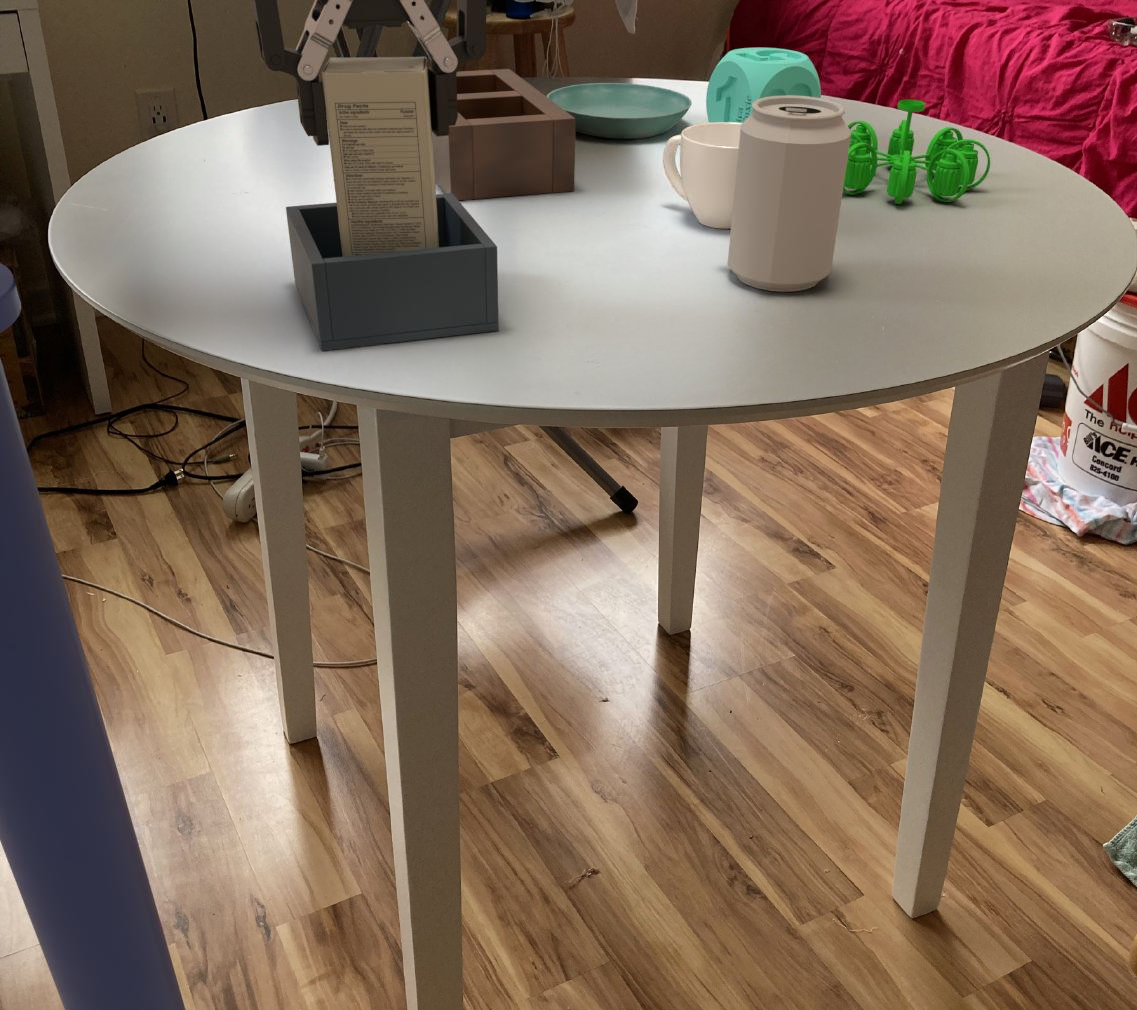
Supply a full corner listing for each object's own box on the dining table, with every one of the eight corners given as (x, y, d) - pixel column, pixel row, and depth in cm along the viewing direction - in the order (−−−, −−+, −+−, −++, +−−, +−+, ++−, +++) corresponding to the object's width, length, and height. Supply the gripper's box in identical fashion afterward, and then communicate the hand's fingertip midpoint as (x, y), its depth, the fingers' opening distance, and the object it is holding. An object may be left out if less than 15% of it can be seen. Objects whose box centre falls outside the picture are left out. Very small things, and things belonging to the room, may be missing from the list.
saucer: (581, 150, 113) (582, 121, 111) (524, 115, 124) (524, 88, 122) (716, 137, 118) (718, 109, 116) (649, 104, 129) (650, 77, 127)
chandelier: (896, 153, 114) (909, 76, 110) (1020, 194, 104) (1040, 111, 100) (778, 175, 107) (787, 94, 103) (898, 221, 97) (914, 133, 93)
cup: (736, 242, 92) (745, 153, 88) (634, 215, 97) (638, 129, 93) (788, 219, 97) (798, 133, 93) (688, 194, 102) (694, 112, 98)
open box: (321, 351, 74) (311, 264, 71) (295, 286, 83) (285, 206, 80) (498, 330, 77) (497, 246, 74) (455, 270, 86) (452, 192, 83)
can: (835, 266, 88) (861, 95, 81) (821, 301, 82) (848, 120, 75) (736, 254, 90) (753, 86, 83) (716, 288, 84) (732, 110, 77)
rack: (451, 201, 100) (448, 126, 96) (401, 140, 115) (397, 74, 111) (574, 191, 102) (575, 118, 99) (510, 133, 118) (509, 68, 114)
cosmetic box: (440, 249, 80) (432, 54, 73) (438, 272, 77) (430, 70, 70) (344, 248, 80) (328, 53, 73) (338, 271, 76) (320, 68, 69)
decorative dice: (701, 138, 117) (708, 51, 113) (766, 129, 121) (776, 44, 116) (748, 158, 112) (758, 67, 107) (815, 148, 115) (827, 60, 110)
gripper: (467, -183, 69) (476, 116, 79) (214, -183, 65) (257, 131, 75) (502, -176, 63) (507, 145, 73) (228, -176, 59) (272, 163, 69)
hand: (380, 137), depth 74 cm, fingers closed on cosmetic box, 7 cm apart
